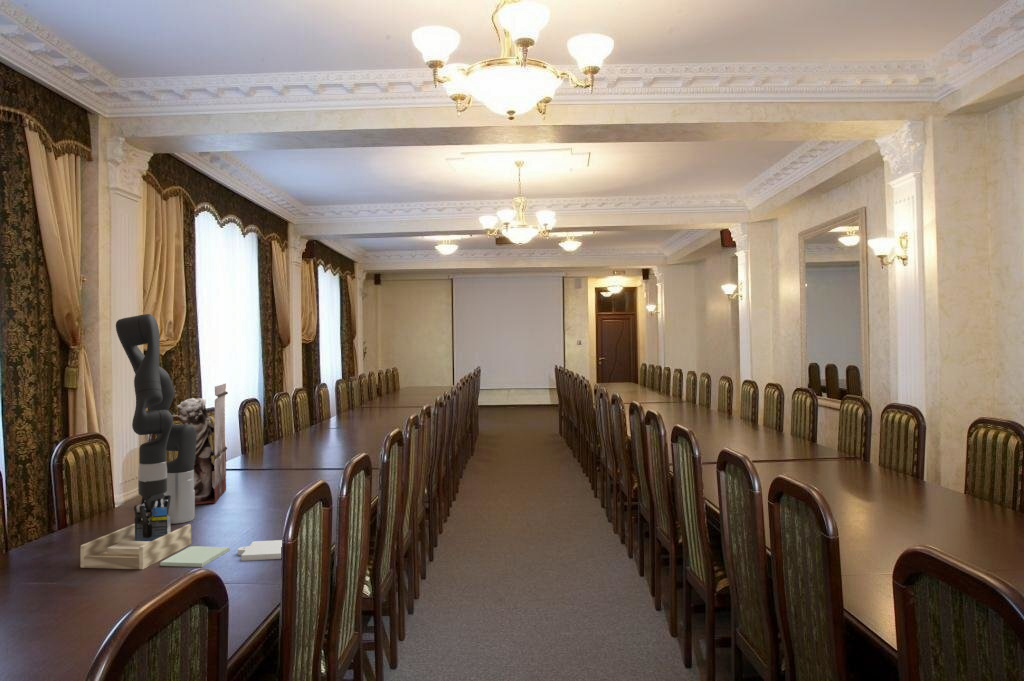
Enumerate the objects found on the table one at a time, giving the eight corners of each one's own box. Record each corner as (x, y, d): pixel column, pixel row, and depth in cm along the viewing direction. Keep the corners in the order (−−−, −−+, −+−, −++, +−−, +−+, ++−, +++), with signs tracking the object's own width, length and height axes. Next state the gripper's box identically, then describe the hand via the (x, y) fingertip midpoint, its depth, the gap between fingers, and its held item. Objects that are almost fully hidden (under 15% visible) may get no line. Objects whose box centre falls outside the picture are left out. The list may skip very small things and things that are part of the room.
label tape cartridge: (171, 544, 193) (171, 503, 193) (167, 548, 189) (167, 506, 189) (138, 546, 191) (138, 505, 191) (134, 550, 187) (134, 508, 187)
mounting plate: (231, 562, 178) (231, 555, 178) (244, 548, 191) (244, 541, 191) (298, 559, 181) (298, 552, 181) (306, 545, 194) (306, 538, 194)
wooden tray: (135, 542, 195) (135, 523, 195) (191, 544, 194) (191, 524, 194) (80, 567, 173) (80, 545, 173) (142, 569, 172) (142, 547, 172)
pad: (190, 549, 188) (190, 546, 188) (229, 550, 187) (229, 547, 187) (160, 565, 174) (160, 562, 174) (202, 566, 173) (202, 563, 173)
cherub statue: (178, 494, 261) (178, 384, 261) (227, 491, 266) (227, 383, 266) (164, 507, 239) (164, 387, 239) (218, 504, 244) (218, 386, 244)
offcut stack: (118, 556, 184) (118, 540, 184) (158, 557, 183) (158, 541, 183) (101, 564, 177) (101, 548, 177) (142, 565, 176) (142, 549, 176)
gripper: (156, 472, 197) (156, 527, 197) (124, 482, 183) (124, 541, 183) (179, 472, 197) (179, 528, 196) (149, 482, 182) (149, 542, 182)
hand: (153, 534), depth 190 cm, fingers closed on label tape cartridge, 4 cm apart
